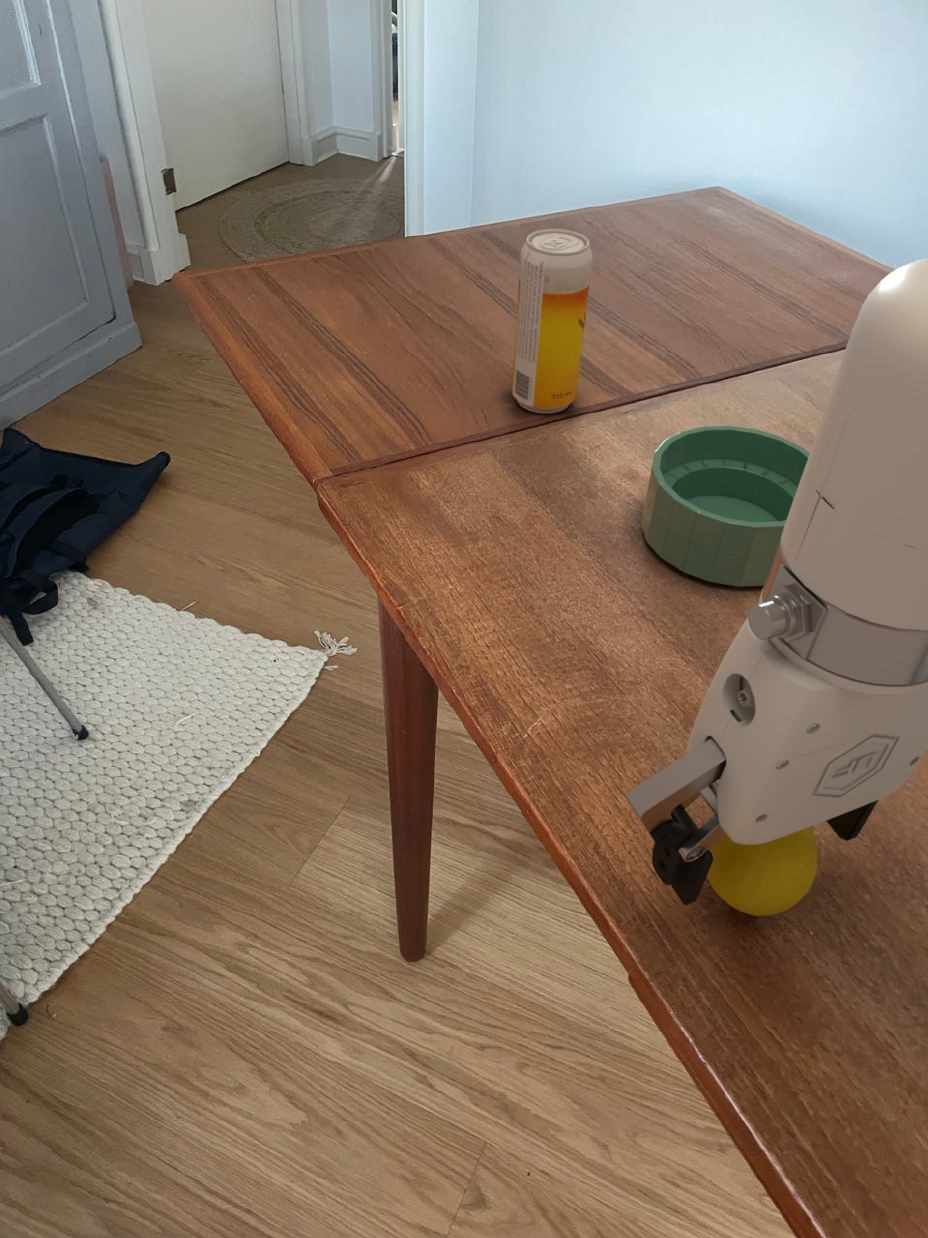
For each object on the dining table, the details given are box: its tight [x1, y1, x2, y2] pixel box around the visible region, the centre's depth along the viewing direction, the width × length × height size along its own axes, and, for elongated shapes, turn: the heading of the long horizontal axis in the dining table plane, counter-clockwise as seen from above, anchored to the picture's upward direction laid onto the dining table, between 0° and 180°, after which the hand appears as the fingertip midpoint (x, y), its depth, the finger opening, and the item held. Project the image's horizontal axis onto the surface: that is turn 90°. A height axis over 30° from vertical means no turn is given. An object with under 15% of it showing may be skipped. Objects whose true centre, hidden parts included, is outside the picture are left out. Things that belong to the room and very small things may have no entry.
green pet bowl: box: [640, 425, 810, 588], centre depth 72 cm, size 13×13×6 cm
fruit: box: [707, 826, 818, 917], centre depth 48 cm, size 6×6×8 cm
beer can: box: [511, 228, 594, 414], centre depth 83 cm, size 6×6×15 cm
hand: (754, 847), depth 48 cm, fingers open, 9 cm apart
